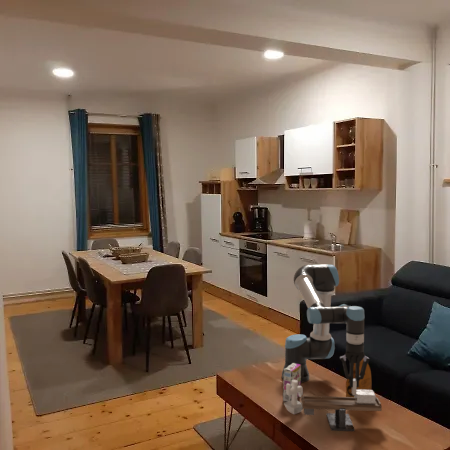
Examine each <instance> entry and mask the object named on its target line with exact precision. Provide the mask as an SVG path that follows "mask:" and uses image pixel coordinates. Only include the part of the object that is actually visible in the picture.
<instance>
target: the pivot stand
mask: <svg viewBox="0 0 450 450" xmlns="http://www.w3.org/2000/svg"><path fill="white" fill-rule="evenodd" d="M325 415H326V419H327V422H328V425H329V428H330V431H332V432H355V430H356V428H355V426H354V424H353V421H352V420H351V416H350V413H347V410H345V408H339V410H334V412H333V413H331V412H330V413H329V412H327V413H326V414H325Z"/></svg>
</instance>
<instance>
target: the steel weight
mask: <svg viewBox="0 0 450 450" xmlns="http://www.w3.org/2000/svg"><path fill="white" fill-rule="evenodd" d="M376 397H377V396H376V394H375V391H374V390H373V389H371V390H358V389H356V395H354V401H355V403H356V404H357V405H375V399H376Z"/></svg>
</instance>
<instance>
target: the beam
mask: <svg viewBox="0 0 450 450" xmlns="http://www.w3.org/2000/svg"><path fill="white" fill-rule="evenodd" d="M300 402H301V403H302V407H303V413H304V415H305V416H315V410H328V411H329V410H331V411H332V410H334V411H335V410H339V408H345V410H346V411H361V412H363V411H364V412H382V411H383V410H382V409H383V408H382V403H381V401H380V399H379V398H378V397H377V396H376V399H375V405H357V404H356V403H355V401H354V397H346V396H326V395H325V396H323V395H321V396H320V395H304V394H303V395H301V397H300Z"/></svg>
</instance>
